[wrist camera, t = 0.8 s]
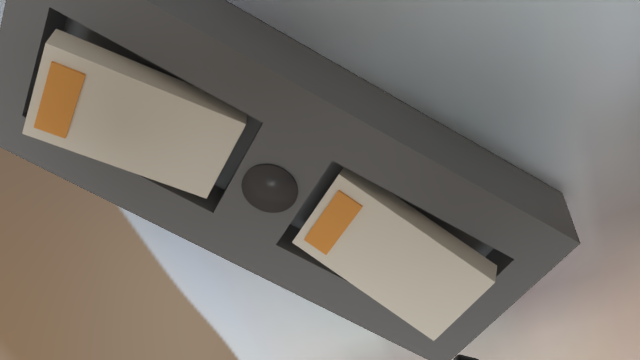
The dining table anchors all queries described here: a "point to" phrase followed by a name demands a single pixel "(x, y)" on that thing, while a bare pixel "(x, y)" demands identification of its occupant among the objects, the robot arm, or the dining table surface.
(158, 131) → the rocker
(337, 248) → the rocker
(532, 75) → the dining table surface
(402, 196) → the rocker switch box
